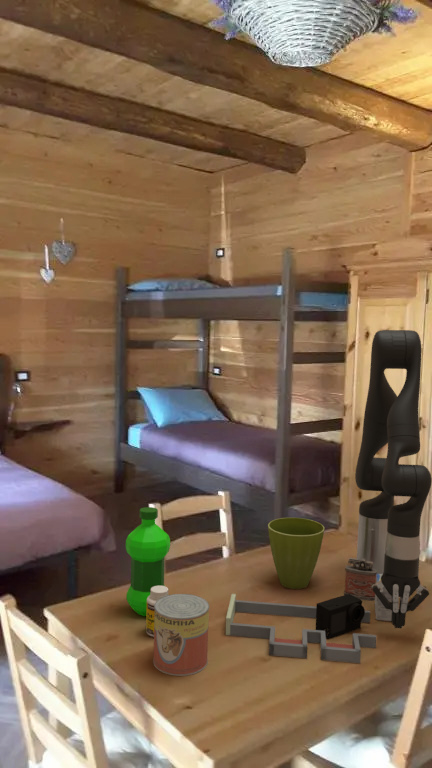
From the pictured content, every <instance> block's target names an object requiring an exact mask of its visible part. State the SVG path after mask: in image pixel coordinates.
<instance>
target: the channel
mask: <svg viewBox="0 0 432 768" xmlns="http://www.w3.org/2000/svg"><path fill="white" fill-rule="evenodd" d="M228 604H229V605H228V608H227V612H226V617H225V636H231V637H241V638H242V637H246V638H256V639H265V640H266V639H267V640H269V643H268V656H275V657H286V658H287V657H289V658H297V659H307V658H308V643H310V644H320V658H321V661H331V662H340V663H341V662H342V663H351V664H352V663H353V664H354V663H355V664H361V653H362V651H361V648H369V649H376V648H377V634H368V633H367V634H366V633H356V632H353V633H352V637H351V638H352V642H351V644H346V643H337V642H335V643H333V642H327V639H326V635H325V631H322V630H316V629H310V628H302V630H301V639H300V640H299V639H289V638H278V637H277V638H276V626H273V625H263V624H262V625H261V624H250V623H241V622H240V623H237V622H234V618H235V613H250V614H258V615H259V614H260V615H261V614H262V615H271V616H273V615H274V616H283V617H295V618H296V617H297V618H309V619H316V606H317V605H316V606H314V605H304V604H303V605H302V604H301V605H300V604H289V603H280V602H279V603H278V602H277V603H276V602H265V601H264V602H263V601H253V600H240V599H237V593H231V595H230V600H229V603H228ZM370 622H371V610H365V614H364V617H363V619H362V621H361V623H368V624H370Z"/></svg>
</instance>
